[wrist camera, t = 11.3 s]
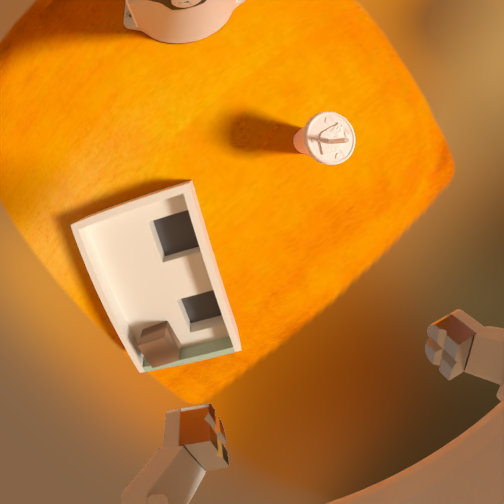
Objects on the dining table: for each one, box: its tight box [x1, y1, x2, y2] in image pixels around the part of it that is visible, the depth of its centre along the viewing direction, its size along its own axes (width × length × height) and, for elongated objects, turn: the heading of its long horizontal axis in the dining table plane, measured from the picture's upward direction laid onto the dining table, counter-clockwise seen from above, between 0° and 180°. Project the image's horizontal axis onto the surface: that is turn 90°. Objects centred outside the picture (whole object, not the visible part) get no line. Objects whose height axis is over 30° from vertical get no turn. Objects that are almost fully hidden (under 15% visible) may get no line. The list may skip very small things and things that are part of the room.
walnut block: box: [138, 321, 181, 368], centre depth 40 cm, size 4×4×4 cm
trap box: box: [70, 180, 242, 373], centre depth 40 cm, size 25×17×6 cm
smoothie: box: [293, 112, 355, 165], centre depth 33 cm, size 6×6×14 cm
